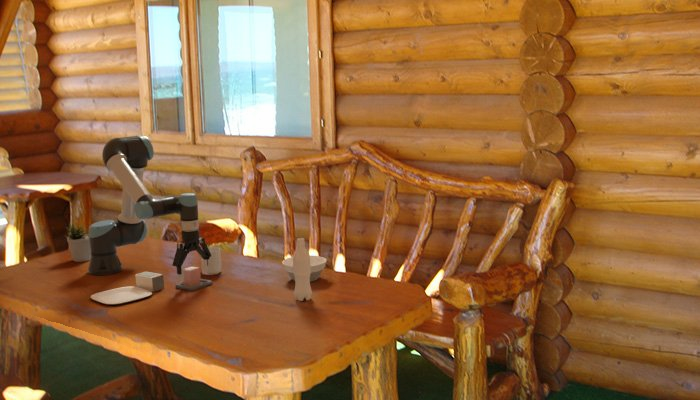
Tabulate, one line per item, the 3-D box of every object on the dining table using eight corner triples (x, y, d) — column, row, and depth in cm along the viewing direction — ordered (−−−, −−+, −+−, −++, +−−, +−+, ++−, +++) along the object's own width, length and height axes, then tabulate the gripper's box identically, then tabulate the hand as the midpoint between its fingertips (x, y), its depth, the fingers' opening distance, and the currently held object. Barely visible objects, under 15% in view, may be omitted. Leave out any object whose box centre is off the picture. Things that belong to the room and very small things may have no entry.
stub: (182, 285, 354) (181, 269, 353) (192, 281, 359) (191, 266, 358) (190, 286, 351) (189, 270, 350) (200, 283, 356) (199, 267, 355)
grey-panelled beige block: (136, 287, 355) (135, 274, 353) (147, 284, 359) (146, 271, 358) (153, 291, 348) (152, 277, 347) (164, 288, 353) (163, 274, 352)
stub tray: (175, 287, 353) (175, 284, 352) (196, 281, 362) (196, 277, 362) (191, 291, 347) (191, 287, 347) (212, 284, 356) (212, 280, 356)
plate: (131, 288, 356) (131, 284, 356) (158, 297, 341) (157, 293, 341) (84, 299, 341) (84, 295, 341) (110, 309, 326) (110, 305, 326)
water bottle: (314, 297, 332) (312, 237, 327) (308, 302, 325) (305, 241, 321) (298, 296, 334) (295, 236, 330) (291, 301, 327) (288, 240, 323)
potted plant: (74, 256, 416) (70, 218, 412) (99, 256, 414) (96, 218, 410) (62, 263, 403) (58, 223, 400) (88, 263, 402) (84, 223, 398)
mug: (225, 272, 375) (223, 249, 373) (208, 276, 369) (206, 252, 367) (211, 268, 384) (210, 244, 382) (195, 271, 378) (193, 248, 377)
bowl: (301, 288, 346) (300, 269, 345) (274, 279, 361) (273, 261, 359) (336, 278, 359) (335, 260, 357) (308, 270, 373) (307, 253, 372)
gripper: (173, 236, 338) (177, 285, 342) (217, 225, 358) (220, 272, 361) (161, 234, 343) (165, 283, 346) (205, 223, 362) (208, 269, 366)
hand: (193, 277), depth 354 cm, fingers open, 13 cm apart
